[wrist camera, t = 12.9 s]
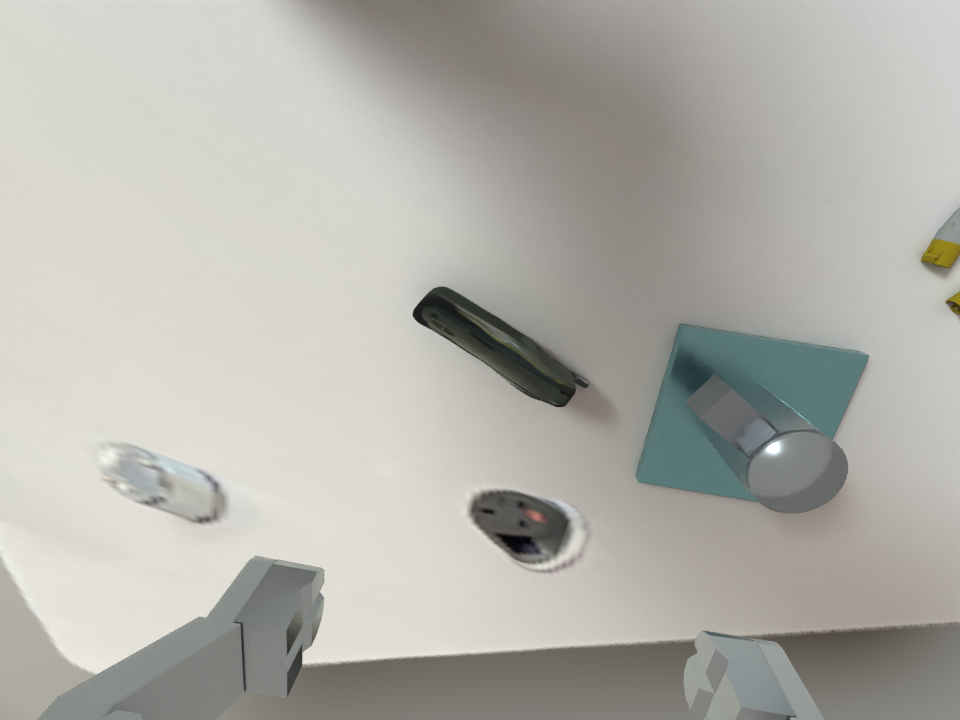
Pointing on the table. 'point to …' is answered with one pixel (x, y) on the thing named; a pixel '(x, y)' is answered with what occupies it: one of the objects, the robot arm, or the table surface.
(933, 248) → the yellow thin looped cord
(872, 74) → the table surface
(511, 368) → the mobile phone
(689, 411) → the flat teal square plate
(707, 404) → the tabbed metal cylinder
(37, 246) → the table surface
